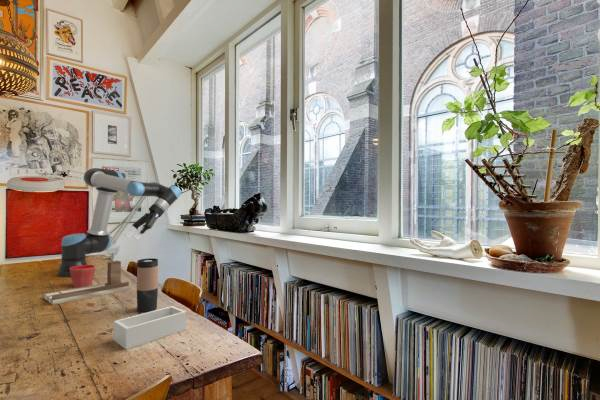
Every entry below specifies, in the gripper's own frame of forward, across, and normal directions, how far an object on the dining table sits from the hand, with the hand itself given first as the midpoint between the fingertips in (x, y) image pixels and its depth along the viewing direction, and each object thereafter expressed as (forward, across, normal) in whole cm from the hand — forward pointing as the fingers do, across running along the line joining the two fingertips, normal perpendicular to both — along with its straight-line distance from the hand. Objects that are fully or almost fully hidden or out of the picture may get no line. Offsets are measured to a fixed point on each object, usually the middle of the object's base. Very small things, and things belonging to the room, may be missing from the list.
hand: (130, 237), depth 164 cm
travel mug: (+25, -45, -12) cm, 53 cm away
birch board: (+31, -3, -3) cm, 32 cm away
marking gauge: (+23, -5, -9) cm, 25 cm away
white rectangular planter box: (+32, -70, -6) cm, 77 cm away
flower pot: (+30, +16, -4) cm, 34 cm away
